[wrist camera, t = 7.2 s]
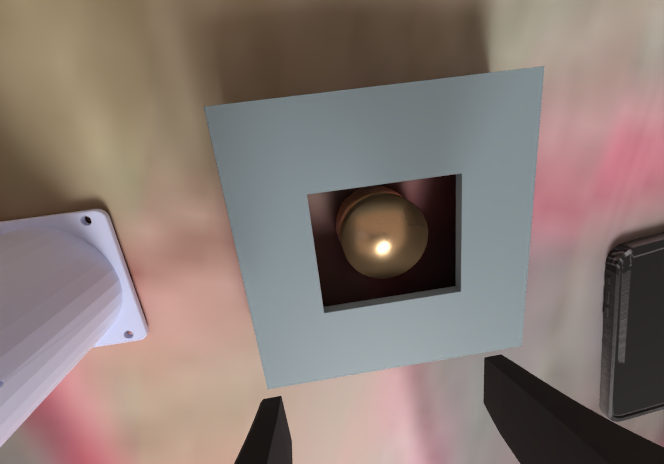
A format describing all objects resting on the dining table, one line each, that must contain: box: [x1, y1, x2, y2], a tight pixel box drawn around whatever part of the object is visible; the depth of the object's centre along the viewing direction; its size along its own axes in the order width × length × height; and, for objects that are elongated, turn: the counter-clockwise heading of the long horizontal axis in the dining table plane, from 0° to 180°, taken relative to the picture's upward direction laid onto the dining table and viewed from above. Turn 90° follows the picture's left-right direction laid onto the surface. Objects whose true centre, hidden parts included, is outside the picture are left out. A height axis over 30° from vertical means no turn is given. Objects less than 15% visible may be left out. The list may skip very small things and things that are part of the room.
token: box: [336, 185, 428, 279], centre depth 18 cm, size 4×4×3 cm
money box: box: [204, 66, 544, 389], centre depth 17 cm, size 14×14×4 cm
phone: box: [600, 232, 664, 422], centre depth 24 cm, size 8×1×15 cm
